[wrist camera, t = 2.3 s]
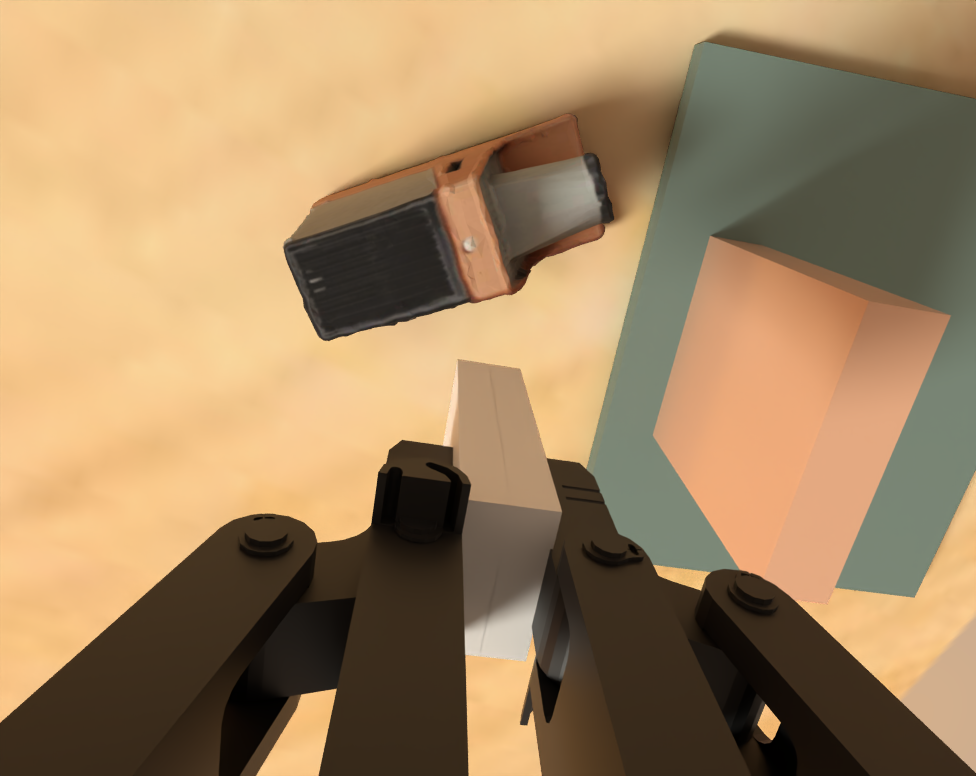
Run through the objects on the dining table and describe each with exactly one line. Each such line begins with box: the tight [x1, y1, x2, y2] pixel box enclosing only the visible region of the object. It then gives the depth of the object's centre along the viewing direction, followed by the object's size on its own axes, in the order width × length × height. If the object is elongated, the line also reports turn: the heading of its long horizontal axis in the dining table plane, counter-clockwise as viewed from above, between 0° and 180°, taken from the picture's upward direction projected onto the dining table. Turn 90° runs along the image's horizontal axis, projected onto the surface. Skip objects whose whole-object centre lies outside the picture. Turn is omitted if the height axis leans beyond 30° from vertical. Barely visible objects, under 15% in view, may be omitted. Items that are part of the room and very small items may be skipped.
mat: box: [587, 42, 976, 597], centre depth 27 cm, size 20×16×1 cm
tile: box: [653, 236, 951, 604], centre depth 21 cm, size 8×2×10 cm, turn 170°
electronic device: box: [283, 114, 614, 341], centre depth 21 cm, size 4×10×8 cm, turn 108°
